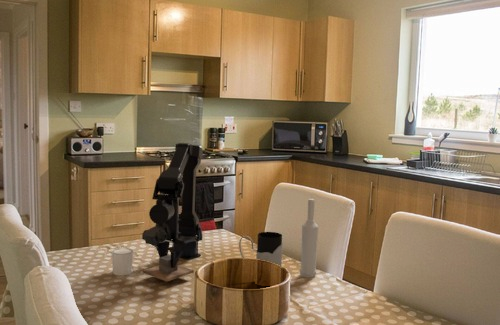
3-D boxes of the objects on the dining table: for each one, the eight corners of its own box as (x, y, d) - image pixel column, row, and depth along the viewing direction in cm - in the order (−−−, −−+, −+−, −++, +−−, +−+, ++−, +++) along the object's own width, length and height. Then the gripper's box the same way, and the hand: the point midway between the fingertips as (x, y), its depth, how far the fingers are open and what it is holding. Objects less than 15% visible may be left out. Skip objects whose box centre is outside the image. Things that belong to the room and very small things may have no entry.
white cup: (127, 277, 161) (127, 255, 160) (107, 275, 162) (107, 253, 161) (136, 270, 167) (137, 249, 167) (117, 268, 169) (117, 247, 168)
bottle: (318, 274, 169) (321, 199, 166) (313, 279, 164) (316, 201, 161) (302, 271, 171) (306, 197, 168) (297, 276, 166) (301, 199, 164)
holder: (278, 288, 155) (279, 239, 153) (233, 282, 159) (234, 234, 158) (285, 279, 163) (287, 233, 161) (242, 273, 168) (244, 228, 166)
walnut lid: (169, 264, 167) (169, 250, 167) (193, 272, 160) (193, 257, 160) (142, 272, 159) (142, 257, 158) (166, 281, 152) (166, 265, 151)
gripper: (128, 215, 157) (128, 265, 159) (169, 226, 145) (169, 280, 147) (156, 210, 166) (156, 257, 168) (198, 220, 154) (197, 271, 156)
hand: (168, 266), depth 159 cm, fingers closed on walnut lid, 4 cm apart
